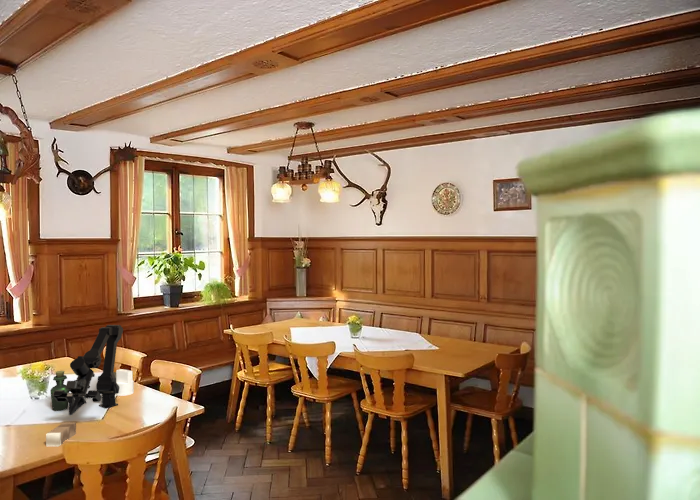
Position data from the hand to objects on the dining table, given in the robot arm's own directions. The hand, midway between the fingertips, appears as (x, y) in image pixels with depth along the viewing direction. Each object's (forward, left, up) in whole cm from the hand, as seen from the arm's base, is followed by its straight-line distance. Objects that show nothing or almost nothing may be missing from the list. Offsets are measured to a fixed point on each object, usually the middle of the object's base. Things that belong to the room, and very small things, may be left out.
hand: (70, 414), depth 215 cm
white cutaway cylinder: (-32, +45, -8) cm, 56 cm away
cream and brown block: (0, 0, -5) cm, 5 cm away
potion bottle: (-34, +13, -8) cm, 38 cm away
